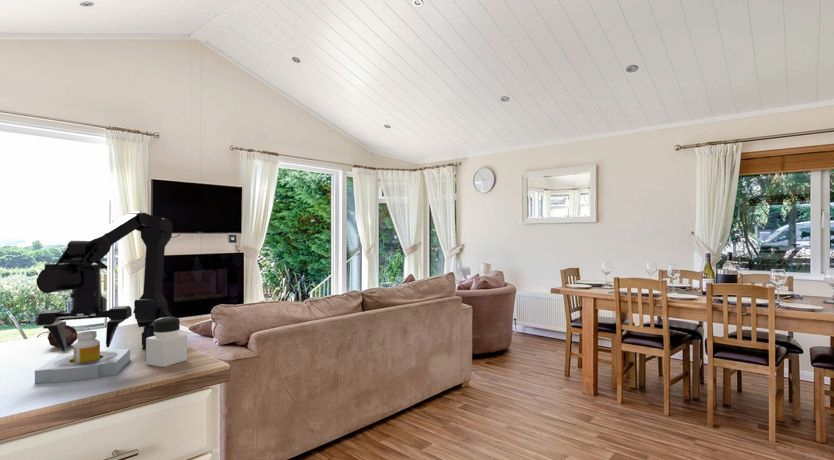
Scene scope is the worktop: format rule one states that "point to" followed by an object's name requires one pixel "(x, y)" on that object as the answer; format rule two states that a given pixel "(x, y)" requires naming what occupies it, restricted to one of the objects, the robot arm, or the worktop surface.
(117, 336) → the worktop surface
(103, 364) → the socket block
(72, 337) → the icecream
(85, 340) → the supplement bottle
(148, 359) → the medicine bottle
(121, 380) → the worktop surface
